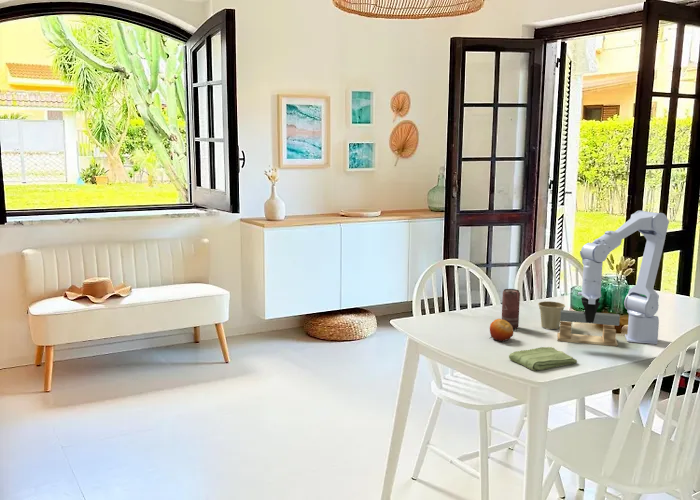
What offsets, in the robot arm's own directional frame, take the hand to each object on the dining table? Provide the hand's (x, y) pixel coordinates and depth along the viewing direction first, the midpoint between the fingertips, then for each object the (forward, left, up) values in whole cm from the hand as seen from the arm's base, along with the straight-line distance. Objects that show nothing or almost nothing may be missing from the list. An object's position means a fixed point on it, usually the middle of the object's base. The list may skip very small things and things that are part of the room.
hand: (589, 320), depth 213 cm
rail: (0, 0, 0) cm, 0 cm away
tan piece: (0, -9, -9) cm, 13 cm away
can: (+26, -17, -10) cm, 32 cm away
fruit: (+28, -1, -10) cm, 30 cm away
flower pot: (+12, -22, -10) cm, 27 cm away
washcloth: (+14, +18, -10) cm, 25 cm away
